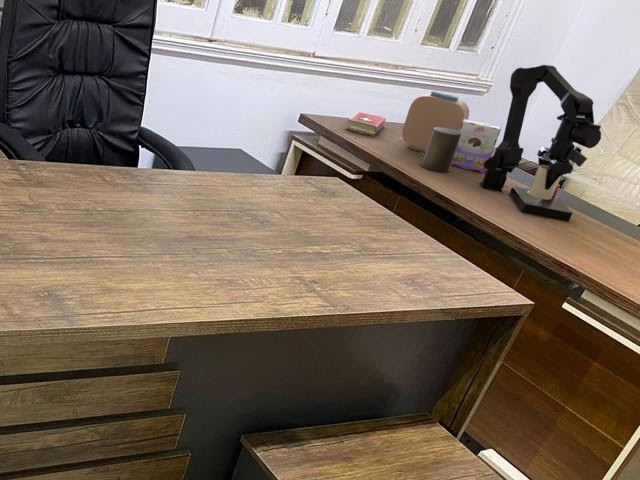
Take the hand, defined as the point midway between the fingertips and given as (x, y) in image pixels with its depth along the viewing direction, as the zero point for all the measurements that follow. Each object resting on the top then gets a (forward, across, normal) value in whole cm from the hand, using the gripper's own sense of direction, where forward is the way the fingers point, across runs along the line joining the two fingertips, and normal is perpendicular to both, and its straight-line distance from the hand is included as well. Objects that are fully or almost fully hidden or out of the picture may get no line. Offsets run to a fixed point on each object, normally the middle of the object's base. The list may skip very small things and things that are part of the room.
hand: (543, 185), depth 257 cm
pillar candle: (+9, +30, +28) cm, 42 cm away
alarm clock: (+9, +55, +28) cm, 63 cm away
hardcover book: (+9, +74, +51) cm, 91 cm away
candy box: (+9, +40, +15) cm, 44 cm away
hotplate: (+8, +4, -3) cm, 10 cm away
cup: (+3, 0, 0) cm, 3 cm away
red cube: (+5, +11, -7) cm, 14 cm away
